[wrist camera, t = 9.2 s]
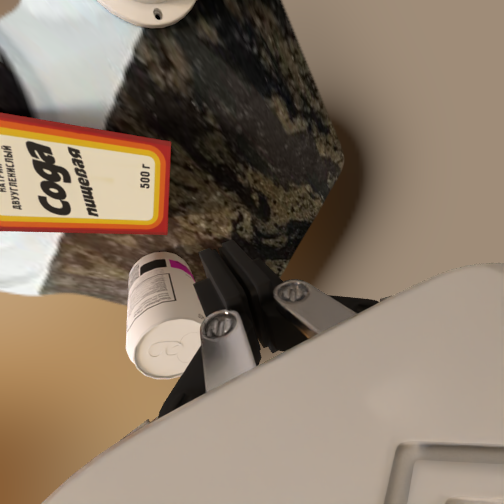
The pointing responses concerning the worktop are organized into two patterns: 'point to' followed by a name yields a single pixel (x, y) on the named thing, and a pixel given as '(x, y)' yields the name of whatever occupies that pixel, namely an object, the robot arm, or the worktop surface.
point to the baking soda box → (81, 179)
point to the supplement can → (162, 316)
